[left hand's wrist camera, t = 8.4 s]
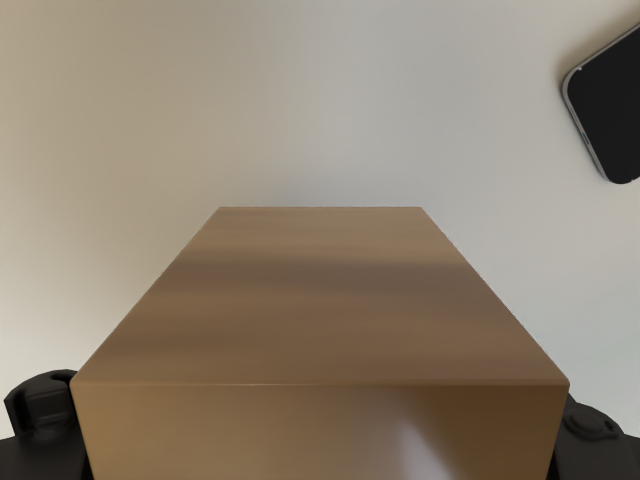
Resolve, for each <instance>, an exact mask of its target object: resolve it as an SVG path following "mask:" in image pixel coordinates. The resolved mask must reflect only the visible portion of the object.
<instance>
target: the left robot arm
mask: <svg viewBox="0 0 640 480" xmlns="http://www.w3.org/2000/svg"><path fill="white" fill-rule="evenodd" d="M77 372H78V371H74V370H68V369H64V370H53V371H50V372H46V373H43V374H39V375H37V376H35V377H33V378H30V379H28V380H26V381H24V382H22V383H21V384H20V385H18V386H17V387H16V388H14V389H13V390H12V391H11V392H10V393H9V394H8V395H7V397H6V398H5V399H4V403H5V406H6V409H7V412H8V415H9V418H10V421H11V424H12V427H13V430H14V433H15V436H13V437H10V438H6V439H2V440H0V480H94V477H93V473H92V469H91V466H90V462H89V458H88V454H87V450H86V447H85V443H84V439H83V435H82V431H81V427H80V424H79V420H78V416H77V412H76V408H75V404H74V401H73V397H72V393H71V389H70V381H71V379H72V378H73V377H74V376H75V375H76V373H77ZM546 480H640V438H637V437H633V436H630V435H626V434H624V432H623V431H622V430H621V428H620V427H619V425H618V424H617V423H616V422H614V421H613V420H612V419H611V418H610V417H608V416H607V415H606V414H604V413H602V412H600V411H598V410H597V409H595V408H593V407H590V406H587V405H584V404H581V403H577V402H576V401H575V400H574V399H573V397H572V396H571V395H570V394H569V392H568V395H567V399H566V403H565V407H564V411H563V414H562V418H561V422H560V426H559V430H558V434H557V438H556V442H555V446H554V449H553V453H552V457H551V461H550V465H549V469H548V473H547V477H546Z"/></svg>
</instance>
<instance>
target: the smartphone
mask: <svg viewBox="0 0 640 480" xmlns="http://www.w3.org/2000/svg"><path fill="white" fill-rule="evenodd" d="M562 93H563V97H564V100H565V102H566V104H567V106H568V108H569V110H570V112H571V114H572V116H573V118H574V120H575V122H576V124H577V126H578V128H579V130H580V132H581V134H582V136H583V138H584V140H585V143H586V145H587V147H588V149H589V151H590V153H591V155H592V157H593V159H594V161H595V163H596V165H597V167H598V169H599V171H600V173H601V175H602V177H603V178H604V179H606V180H607V181H609V182H612V183H616V184H626V183H629V182H631V181H633V180H635V179H637V178H638V177H640V24H639V25H637V26H636V27H634V28H633V29H631V30H630V31H629V32H627V33H626V34H624V35H623V36H621V37H620V38H618V39H617V40H615V41H614V42H612V43H611V44H609V45H608V46H606V47H605V48H603V49H602V50H601V51H599V52H598V53H596V54H595V55H593V56H592V57H590V58H589V59H587V60H586V61H584V62H583V63H581V64H580V65H578V66H577V67H575V68H574V69H573V70H572V71H571V72H570V73H569V74H568V75H567V77H566V79H565V81H564V83H563V88H562Z"/></svg>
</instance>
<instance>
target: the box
mask: <svg viewBox="0 0 640 480" xmlns="http://www.w3.org/2000/svg"><path fill="white" fill-rule="evenodd" d="M569 387H570V383H569V380H568V379H567V377H566V376H565V375H564V374H563V373H562V371H561V370H560V369H559V368H558V367H557V366H556V364H555V363H554V362H553V361H552V360H551V359H550V357H549V356H548V355H547V354H546V353H545V352H544V350H543V349H542V348H541V347H540V346H539V345H538V343H537V342H536V341H535V340H534V339H533V338H532V336H531V335H530V334H529V333H528V332H527V331H526V329H525V328H524V327H523V326H522V325H521V324H520V322H519V321H518V320H517V319H516V318H515V317H514V315H513V314H512V313H511V312H510V311H509V309H508V308H507V307H506V306H505V305H504V304H503V302H502V301H501V300H500V299H499V298H498V297H497V295H496V294H495V293H494V292H493V291H492V290H491V288H490V287H489V286H488V285H487V284H486V283H485V281H484V280H483V279H482V278H481V277H480V276H479V274H478V273H477V272H476V271H475V270H474V269H473V267H472V266H471V265H470V264H469V263H468V262H467V260H466V259H465V258H464V257H463V256H462V255H461V253H460V252H459V251H458V250H457V249H456V247H455V246H454V245H453V244H452V243H451V242H450V240H449V239H448V238H447V237H446V236H445V235H444V233H443V232H442V231H441V230H440V229H439V228H438V226H437V225H436V224H435V223H434V222H433V221H432V219H431V218H430V217H429V216H428V215H427V214H426V212H425V211H424V210H423V209H422V208H421V207H220V208H218V210H217V211H216V212H215V213H214V214H213V215H212V216H211V218H210V219H209V220H208V221H207V222H206V223H205V225H204V226H203V227H202V228H201V229H200V230H199V232H198V233H197V234H196V235H195V236H194V237H193V239H192V240H191V241H190V242H189V243H188V244H187V246H186V247H185V248H184V249H183V250H182V251H181V253H180V254H179V255H178V256H177V257H176V258H175V260H174V261H173V262H172V263H171V264H170V265H169V266H168V268H167V269H166V270H165V271H164V272H163V273H162V275H161V276H160V277H159V278H158V279H157V280H156V282H155V283H154V284H153V285H152V286H151V287H150V289H149V290H148V291H147V292H146V293H145V294H144V296H143V297H142V298H141V299H140V300H139V301H138V303H137V304H136V305H135V306H134V307H133V308H132V310H131V311H130V312H129V313H128V314H127V315H126V316H125V318H124V319H123V320H122V321H121V322H120V323H119V325H118V326H117V327H116V328H115V329H114V330H113V332H112V333H111V334H110V335H109V336H108V337H107V339H106V340H105V341H104V342H103V343H102V344H101V346H100V347H99V348H98V349H97V350H96V351H95V353H94V354H93V355H92V356H91V357H90V358H89V360H88V361H87V362H86V363H85V364H84V365H83V366H82V368H81V369H80V370H79V371H78V372H77V373H76V375H75V376H74V377H73V378H72V379H71V381H70V389H71V393H72V397H73V401H74V404H75V408H76V412H77V416H78V420H79V424H80V427H81V431H82V435H83V439H84V443H85V447H86V450H87V454H88V458H89V462H90V466H91V469H92V473H93V477H94V480H546V477H547V473H548V469H549V465H550V461H551V457H552V453H553V449H554V446H555V442H556V438H557V434H558V430H559V426H560V422H561V418H562V414H563V411H564V407H565V403H566V399H567V395H568V391H569Z"/></svg>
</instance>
